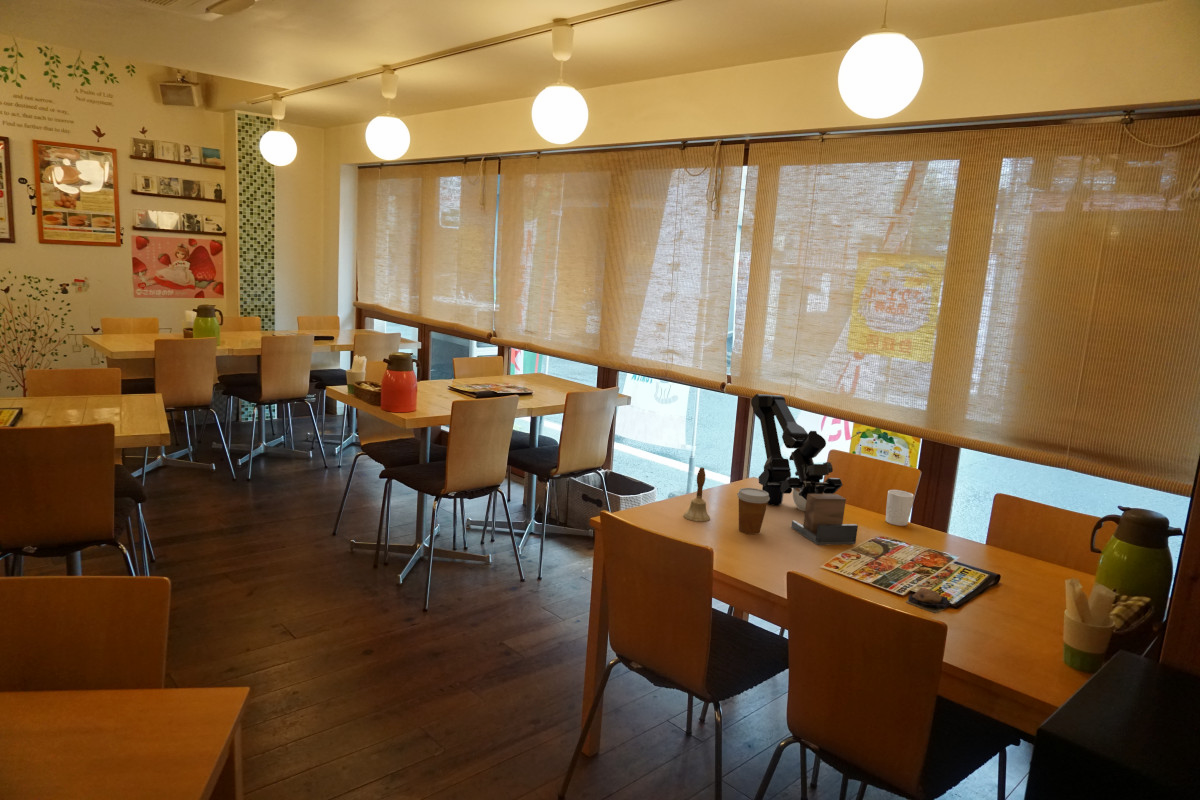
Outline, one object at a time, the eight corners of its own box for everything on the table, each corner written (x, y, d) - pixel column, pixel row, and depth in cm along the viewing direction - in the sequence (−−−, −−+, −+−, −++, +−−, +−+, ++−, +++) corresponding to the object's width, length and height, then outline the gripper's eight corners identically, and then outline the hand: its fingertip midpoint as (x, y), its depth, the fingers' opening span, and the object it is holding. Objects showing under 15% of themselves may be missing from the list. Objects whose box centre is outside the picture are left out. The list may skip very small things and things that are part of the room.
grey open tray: (791, 527, 235) (793, 509, 234) (827, 527, 238) (829, 509, 237) (817, 544, 220) (820, 525, 219) (855, 544, 224) (857, 525, 223)
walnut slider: (802, 528, 231) (807, 493, 229) (831, 528, 233) (836, 493, 232) (811, 534, 226) (816, 498, 224) (840, 534, 229) (846, 498, 227)
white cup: (912, 527, 246) (917, 497, 244) (888, 525, 246) (893, 495, 244) (903, 519, 253) (908, 490, 252) (880, 517, 254) (884, 488, 252)
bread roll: (936, 617, 179) (939, 602, 178) (901, 603, 185) (904, 589, 184) (954, 606, 186) (957, 592, 185) (920, 593, 192) (923, 579, 191)
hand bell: (712, 522, 233) (718, 472, 230) (685, 521, 232) (691, 470, 230) (707, 514, 241) (712, 465, 238) (681, 512, 240) (686, 463, 238)
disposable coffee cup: (730, 532, 225) (735, 493, 223) (736, 523, 234) (740, 485, 232) (762, 538, 222) (767, 498, 220) (767, 529, 231) (772, 491, 229)
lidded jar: (799, 513, 250) (803, 486, 248) (785, 503, 260) (788, 477, 259) (829, 514, 252) (833, 487, 251) (813, 504, 262) (817, 478, 261)
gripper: (789, 451, 231) (804, 497, 223) (843, 452, 236) (859, 497, 228) (774, 470, 240) (787, 515, 231) (826, 471, 245) (841, 514, 236)
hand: (819, 510), depth 231 cm, fingers closed, pressing on walnut slider
